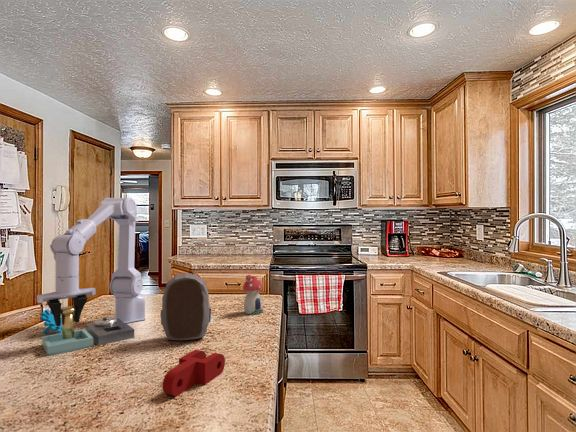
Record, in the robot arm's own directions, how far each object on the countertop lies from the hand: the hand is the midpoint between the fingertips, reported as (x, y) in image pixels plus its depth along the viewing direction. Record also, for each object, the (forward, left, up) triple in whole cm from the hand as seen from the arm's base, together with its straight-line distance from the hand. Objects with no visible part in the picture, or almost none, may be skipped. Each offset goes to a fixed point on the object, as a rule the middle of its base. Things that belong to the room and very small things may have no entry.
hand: (67, 323), depth 105 cm
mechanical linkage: (-17, +45, -7) cm, 48 cm away
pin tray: (0, 0, -6) cm, 6 cm away
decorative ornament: (-62, +5, -7) cm, 62 cm away
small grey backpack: (-29, +16, -7) cm, 34 cm away
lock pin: (0, 0, -4) cm, 4 cm away
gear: (0, -16, -7) cm, 18 cm away
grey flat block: (-12, -3, -6) cm, 14 cm away
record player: (-41, -2, -7) cm, 42 cm away
